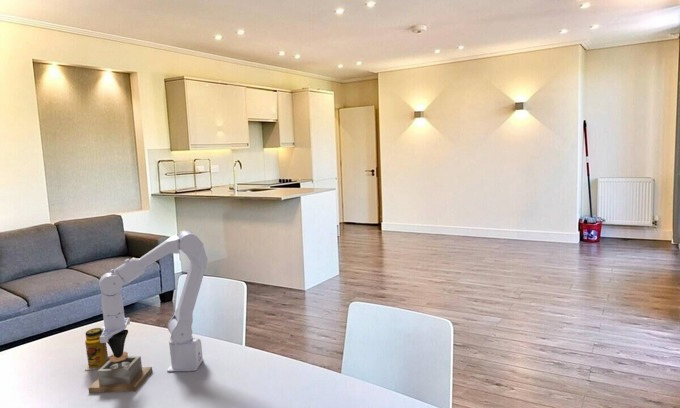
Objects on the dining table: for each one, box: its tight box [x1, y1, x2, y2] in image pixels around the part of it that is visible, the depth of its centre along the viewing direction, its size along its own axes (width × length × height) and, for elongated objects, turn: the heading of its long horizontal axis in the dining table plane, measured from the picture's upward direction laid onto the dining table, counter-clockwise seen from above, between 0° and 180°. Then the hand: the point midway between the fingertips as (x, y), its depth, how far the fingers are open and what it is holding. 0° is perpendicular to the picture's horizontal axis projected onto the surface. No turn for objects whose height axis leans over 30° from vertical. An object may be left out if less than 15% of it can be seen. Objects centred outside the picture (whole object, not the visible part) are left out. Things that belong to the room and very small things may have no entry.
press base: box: [87, 355, 153, 394], centre depth 146 cm, size 14×12×6 cm
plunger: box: [109, 351, 130, 369], centre depth 146 cm, size 6×6×4 cm
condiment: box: [84, 327, 111, 371], centre depth 159 cm, size 7×8×12 cm
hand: (118, 355), depth 145 cm, fingers closed, pressing on plunger
